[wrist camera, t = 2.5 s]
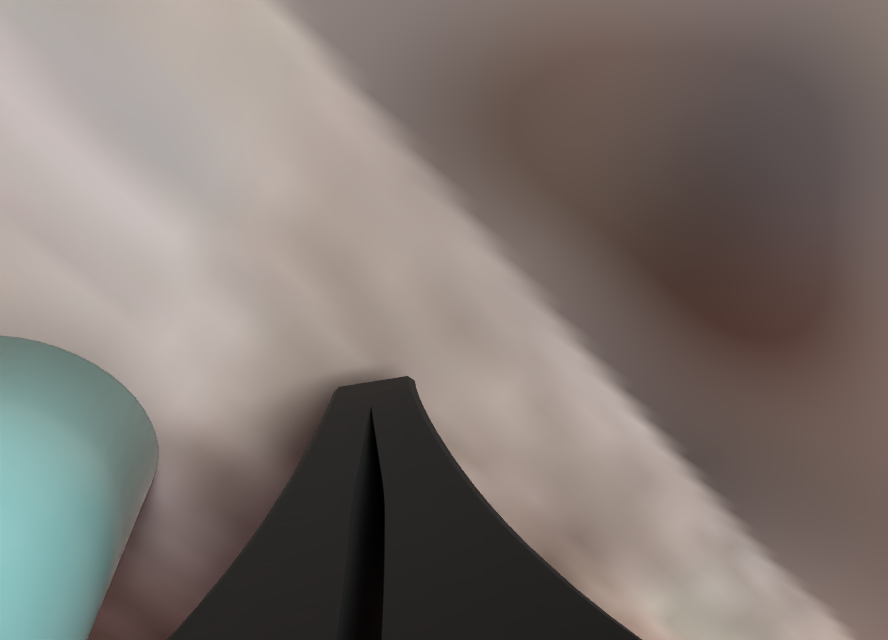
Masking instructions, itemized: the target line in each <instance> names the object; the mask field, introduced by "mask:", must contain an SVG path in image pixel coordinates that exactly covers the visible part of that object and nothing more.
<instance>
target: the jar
mask: <svg viewBox="0 0 888 640" xmlns="http://www.w3.org/2000/svg"><path fill="white" fill-rule="evenodd" d="M157 464H158V443H157V437H156V433H155V431H154V428H153V425H152V423H151V421H150V419H149V417H148V415H147V413H146V412H145V410H144V408H143V407H142V406H141V404H140V403H139V402H138V400H137V399H136V398H135V397H134V396H133V395H132V394H131V393H130V392H129V390H128V389H127V388H126V387H125V386H124V385H122V384H121V383H120V382H119V381H118V380H116V379H115V378H114V377H113V376H112V375H110V374H109V373H107V372H106V371H104V370H103V369H101V368H100V367H98V366H97V365H95V364H93V363H91V362H90V361H88V360H86V359H84V358H82V357H80V356H78V355H76V354H73V353H71V352H68V351H66V350H64V349H61V348H58V347H55V346H52V345H49V344H45V343H42V342H38V341H33V340H28V339H24V338H18V337H8V336H0V640H88V637H89V635H90V632H91V630H92V627H93V625H94V622H95V620H96V618H97V615H98V613H99V610H100V608H101V605H102V603H103V600H104V598H105V596H106V593H107V591H108V588H109V586H110V583H111V581H112V578H113V576H114V573H115V571H116V569H117V566H118V564H119V561H120V559H121V556H122V554H123V551H124V549H125V547H126V544H127V542H128V539H129V537H130V534H131V532H132V529H133V527H134V525H135V522H136V520H137V517H138V515H139V512H140V510H141V507H142V505H143V503H144V500H145V498H146V495H147V493H148V490H149V488H150V485H151V483H152V481H153V478H154V475H155V473H156V470H157Z"/></svg>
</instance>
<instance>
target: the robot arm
mask: <svg viewBox="0 0 888 640" xmlns="http://www.w3.org/2000/svg"><path fill="white" fill-rule="evenodd" d="M167 640H642V639H640V638H639V637H638V636H636V635H635V634H634V633H632V632H631V631H630V630H628V629H627V628H626V627H624V626H623V625H622V624H620V623H619V622H618V621H616V620H615V619H613V618H612V617H611V616H609V615H608V614H607V613H606V612H604V611H603V610H602V609H601V608H600V607H598V606H597V605H596V604H595V603H593V602H592V601H591V600H590V599H588V598H587V597H586V596H585V595H583V594H582V593H581V592H580V591H578V590H577V589H576V588H575V587H574V586H573V585H571V584H570V583H569V582H568V581H567V580H566V579H565V578H564V577H563V576H561V575H560V574H559V573H558V572H557V571H556V570H555V569H554V568H553V567H552V566H550V565H549V564H548V563H547V562H546V561H545V560H544V559H543V558H542V557H540V556H539V555H538V554H537V553H536V552H535V551H534V550H533V549H532V548H531V547H530V546H529V545H527V543H526V542H525V541H524V540H523V539H522V538H521V537H520V536H519V535H518V534H517V533H516V532H515V531H514V530H513V529H512V528H511V527H510V526H509V525H508V524H507V523H506V522H505V521H504V520H503V518H502V517H501V516H500V515H499V514H498V513H497V512H496V511H495V510H494V509H493V507H492V506H491V505H490V504H489V503H488V502H487V500H486V499H485V498H484V497H483V496H482V494H481V493H480V492H479V491H478V489H477V488H476V487H475V486H474V485H473V483H472V482H471V481H470V479H469V478H468V477H467V475H466V474H465V473H464V471H463V470H462V469H461V467H460V466H459V465H458V463H457V462H456V460H455V459H454V457H453V456H452V455H451V453H450V451H449V450H448V448H447V447H446V445H445V444H444V442H443V441H442V439H441V437H440V436H439V434H438V433H437V431H436V429H435V428H434V426H433V424H432V422H431V421H430V419H429V417H428V415H427V413H426V411H425V409H424V407H423V405H422V402H421V400H420V398H419V395H418V392H417V389H416V385H415V381H414V380H413V379H411V378H410V377H408V376H405V377H399V378H393V379H386V380H380V381H374V382H368V383H362V384H356V385H349V386H343V387H338V389H337V390H336V391H335V392H334V394H333V396H332V398H331V401H330V403H329V405H328V408H327V410H326V412H325V414H324V416H323V419H322V421H321V423H320V425H319V427H318V429H317V431H316V433H315V435H314V437H313V439H312V441H311V443H310V445H309V446H308V448H307V450H306V452H305V454H304V456H303V457H302V459H301V461H300V463H299V465H298V466H297V468H296V470H295V472H294V474H293V475H292V477H291V479H290V480H289V482H288V484H287V485H286V487H285V488H284V490H283V492H282V493H281V495H280V496H279V498H278V500H277V501H276V503H275V504H274V506H273V507H272V509H271V511H270V512H269V514H268V515H267V517H266V518H265V520H264V521H263V523H262V524H261V526H260V527H259V529H258V530H257V531H256V533H255V534H254V536H253V537H252V538H251V540H250V541H249V543H248V544H247V545H246V547H245V548H244V549H243V551H242V552H241V553H240V555H239V556H238V557H237V559H236V560H235V561H234V563H233V564H232V565H231V566H230V568H229V569H228V570H227V572H226V573H225V574H224V575H223V576H222V578H221V579H220V580H219V581H218V582H217V584H216V585H215V586H214V587H213V588H212V590H211V591H210V592H209V593H208V594H207V596H206V597H205V598H204V599H203V600H202V602H201V603H200V604H199V605H198V606H197V608H196V609H195V610H194V611H193V612H192V613H191V614H190V615H189V617H188V618H187V619H186V620H185V621H184V622H183V623H182V624H181V626H180V627H179V628H178V629H177V630H176V631H175V632H174V633H173V634H172V635H171V636H170V637H169V638H168V639H167Z"/></svg>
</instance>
